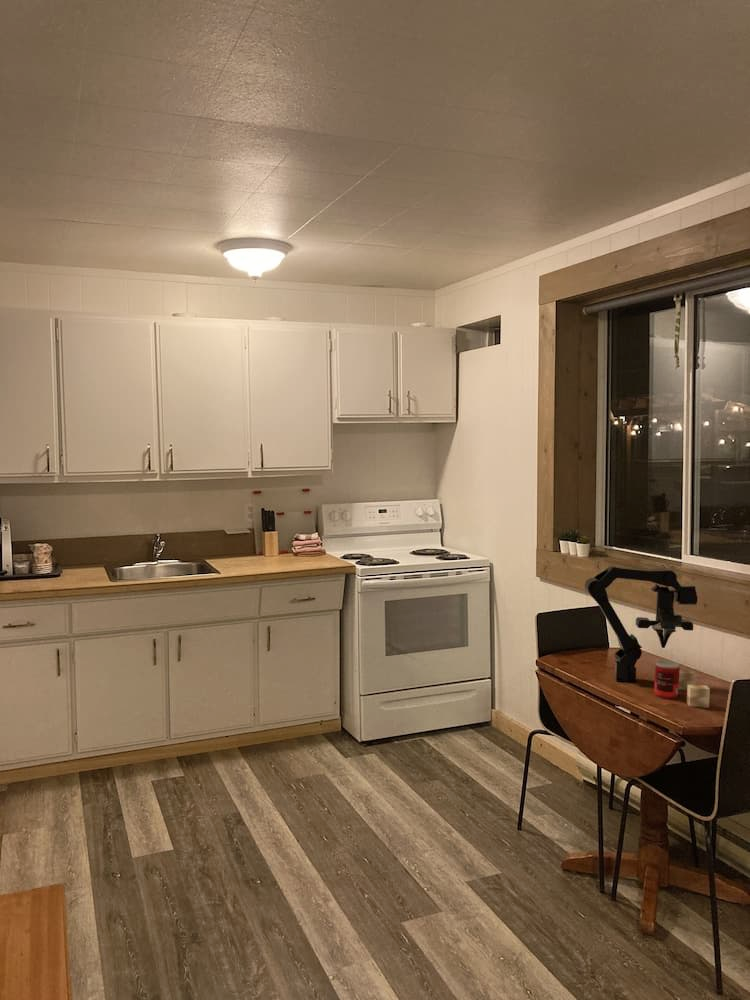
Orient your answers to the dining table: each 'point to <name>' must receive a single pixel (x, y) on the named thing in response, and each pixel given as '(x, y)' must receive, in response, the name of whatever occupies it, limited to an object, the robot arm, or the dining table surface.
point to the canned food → (666, 679)
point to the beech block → (698, 695)
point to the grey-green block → (686, 679)
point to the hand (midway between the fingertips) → (663, 647)
